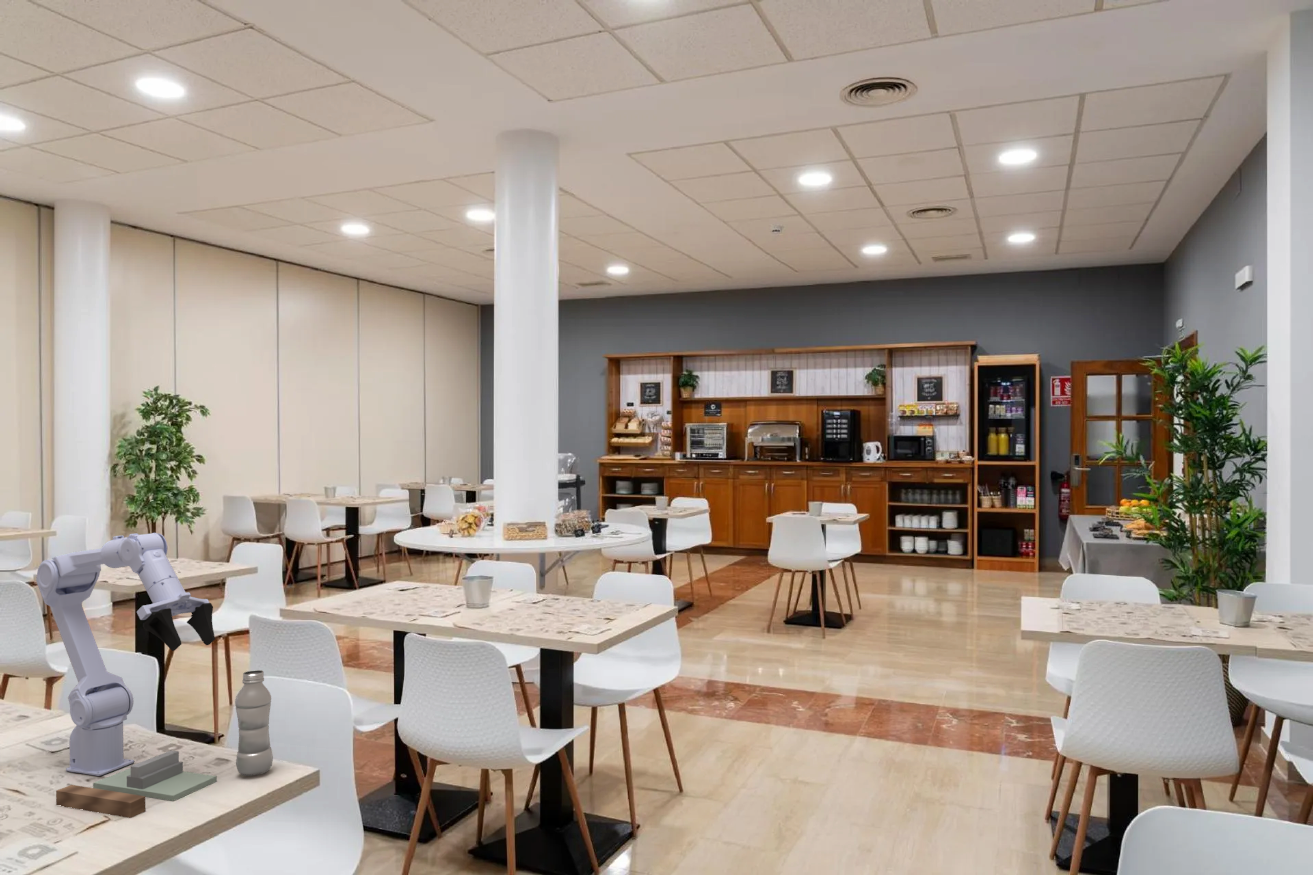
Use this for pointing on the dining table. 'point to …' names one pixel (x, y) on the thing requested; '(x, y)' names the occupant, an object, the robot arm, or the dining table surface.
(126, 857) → the dining table surface
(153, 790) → the balance stand
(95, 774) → the robot arm
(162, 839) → the dining table surface
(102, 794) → the walnut beam
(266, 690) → the plastic bottle
